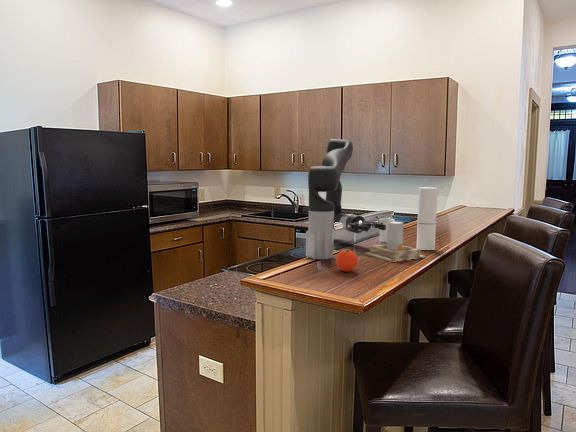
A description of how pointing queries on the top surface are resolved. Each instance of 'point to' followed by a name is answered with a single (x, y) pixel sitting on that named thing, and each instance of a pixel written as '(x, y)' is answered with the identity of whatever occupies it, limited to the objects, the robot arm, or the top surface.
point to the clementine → (346, 260)
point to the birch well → (394, 253)
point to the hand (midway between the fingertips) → (376, 228)
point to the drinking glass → (384, 232)
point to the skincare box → (395, 236)
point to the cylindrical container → (426, 218)
